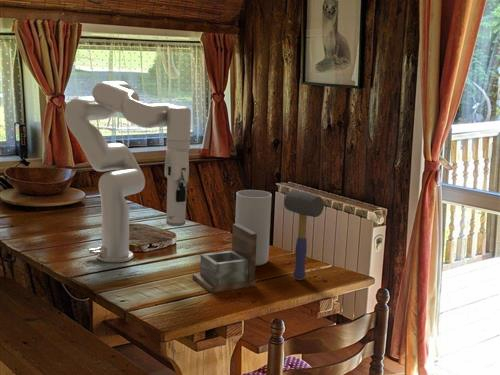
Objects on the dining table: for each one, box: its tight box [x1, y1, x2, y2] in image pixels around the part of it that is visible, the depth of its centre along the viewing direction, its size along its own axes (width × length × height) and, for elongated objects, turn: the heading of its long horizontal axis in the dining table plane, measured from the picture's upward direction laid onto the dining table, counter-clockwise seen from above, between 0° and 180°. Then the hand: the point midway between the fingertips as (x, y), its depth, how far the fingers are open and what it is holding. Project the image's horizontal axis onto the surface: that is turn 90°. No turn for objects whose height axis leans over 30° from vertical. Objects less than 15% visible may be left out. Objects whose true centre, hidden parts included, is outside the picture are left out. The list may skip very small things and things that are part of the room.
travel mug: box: [165, 166, 188, 227], centre depth 214 cm, size 6×7×20 cm
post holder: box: [192, 223, 257, 294], centre depth 213 cm, size 16×14×18 cm
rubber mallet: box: [283, 190, 325, 281], centre depth 218 cm, size 12×8×30 cm, turn 46°
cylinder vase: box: [234, 189, 273, 267], centre depth 235 cm, size 12×12×25 cm
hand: (176, 198), depth 214 cm, fingers closed on travel mug, 6 cm apart
